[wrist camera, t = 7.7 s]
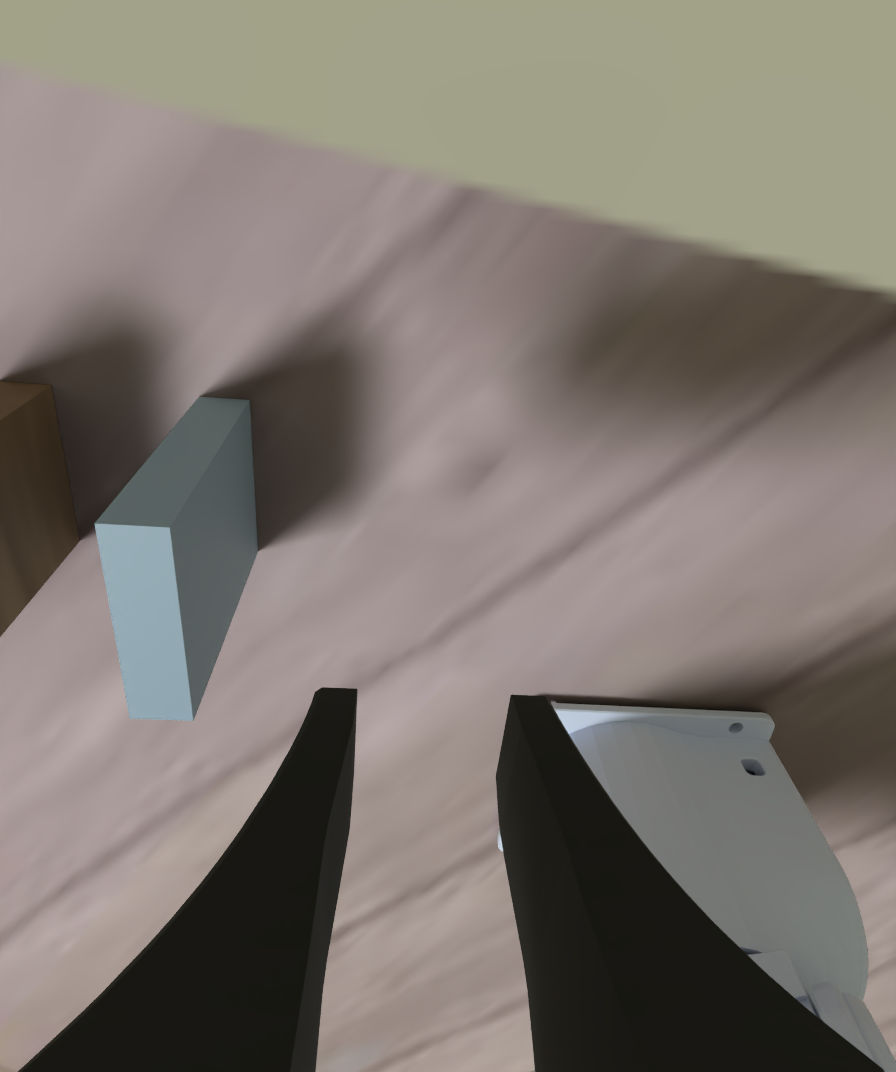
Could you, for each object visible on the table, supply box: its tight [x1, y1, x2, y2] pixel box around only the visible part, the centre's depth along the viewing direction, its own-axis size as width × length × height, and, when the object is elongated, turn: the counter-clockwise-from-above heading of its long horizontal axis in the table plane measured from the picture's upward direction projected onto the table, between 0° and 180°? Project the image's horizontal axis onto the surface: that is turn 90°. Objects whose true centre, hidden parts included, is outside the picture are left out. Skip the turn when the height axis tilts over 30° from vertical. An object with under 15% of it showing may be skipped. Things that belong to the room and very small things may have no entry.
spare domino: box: [94, 397, 258, 721], centre depth 18 cm, size 1×5×8 cm, turn 176°
